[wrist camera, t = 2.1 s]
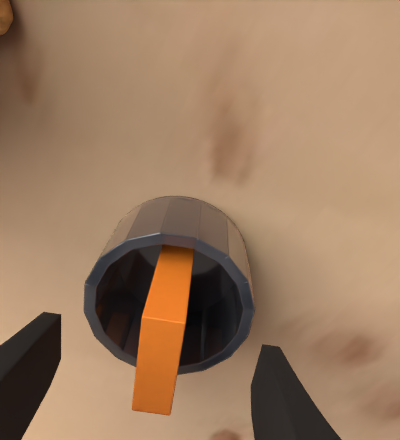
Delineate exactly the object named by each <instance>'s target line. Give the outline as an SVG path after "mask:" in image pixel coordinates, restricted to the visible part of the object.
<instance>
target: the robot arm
mask: <svg viewBox="0 0 400 440" xmlns="http://www.w3.org/2000/svg"><path fill="white" fill-rule="evenodd" d="M60 360H61V314H54V313H48V312H43V313H42V314H40V315H39V316H38V317H36V318H35V319H34V320H33V321H31V322H30V323H29V324H28V325H26V326H25V327H24V328H23V329H21V330H20V331H19V332H17V333H16V334H15V335H14V336H12V337H11V338H10V339H8V340H7V341H6V342H4V343H3V344H2V345H0V440H21V439H22V437H23V435H24V433H25V432H26V430H27V428H28V426H29V424H30V422H31V421H32V419H33V417H34V415H35V413H36V411H37V410H38V408H39V406H40V404H41V402H42V400H43V398H44V397H45V395H46V393H47V391H48V389H49V387H50V385H51V383H52V380H53V378H54V375H55V373H56V370H57V368H58V365H59V362H60ZM251 415H252V423H253V430H254V438H255V440H341V438H340V437H339V436H338V435H337V434H336V432H335V431H334V430H333V429H332V427H331V426H330V425H329V423H328V422H327V421H326V419H325V418H324V416H323V415H322V414H321V412H320V411H319V410H318V408H317V407H316V405H315V404H314V402H313V401H312V399H311V398H310V396H309V395H308V393H307V392H306V390H305V389H304V387H303V385H302V384H301V382H300V381H299V379H298V377H297V376H296V374H295V372H294V371H293V369H292V367H291V366H290V364H289V362H288V360H287V359H286V357H285V355H284V353H283V352H282V350H281V348H280V347H278V346H271V345H264V344H262V348H261V351H260V355H259V358H258V362H257V365H256V369H255V373H254V376H253V380H252V383H251Z"/></svg>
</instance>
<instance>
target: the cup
mask: <svg viewBox="0 0 400 440" xmlns="http://www.w3.org/2000/svg"><path fill="white" fill-rule="evenodd" d="M163 244H164V245H171V246H177V247H184V248H190V249H194V259H193V267H192V276H191V284H190V292H189V301H188V309H187V318H186V325H185V331H184V337H183V343H182V349H181V355H180V361H179V367H178V373H177V375H180V374H187V373H193V372H199V371H204V370H207V369H209V368H211V367H213V366H214V365H216V364H218V363H220V362H222V361H224V360H226V359H228V358H229V357H231V356H232V355H233V353H234V352H235V351H236V350H237V349H238V348H239V346H240V345H241V344H242V343H243V342H244V340H245V339H246V338H247V337H248V335H249V331H250V328H251V324H252V320H253V316H254V312H255V304H254V297H253V290H252V283H251V276H250V269H249V263H248V258H247V254H246V248H245V244H244V240H243V238H242V236H241V234H240V232H239V230H238V229H237V227H236V226H235V224H234V223H233V222H232V221H231V220H230V219H229V217H227V216H226V215H225V214H224V213H223V212H222V211H220V210H219V209H217V208H216V207H214V206H212V205H210V204H208V203H206V202H204V201H201V200H198V199H194V198H190V197H182V196H167V197H160V198H156V199H153V200H149V201H147V202H145V203H142V204H140V205H139V206H137V207H136V208H134V209H133V210H131V211H130V212H129V213H128V214H127V215H126V216H125V217H124V218H123V219H122V220H121V221H120V222H119V224H118V226H117V227H116V229H115V231H114V233H113V234H112V236H111V238H110V239H109V241H108V243H107V245H106V246H105V248H104V250H103V252H102V253H101V255H100V257H99V259H98V260H97V262H96V264H95V266H94V267H93V269H92V271H91V273H90V274H89V276H88V278H87V280H86V281H85V286H84V313H85V316H86V318H87V320H88V322H89V325H90V327H91V329H92V331H93V334H94V336H95V337H96V338H97V339H98V340H99V341H100V342H101V343H102V344H103V345H104V346H105V347H106V348H107V349H108V350H109V351H110V352H111V353H112V354H113V355H114V356H115V357H117V358H118V359H120V360H122V361H124V362H126V363H128V364H130V365H133V366H135V367H136V365H137V356H138V347H139V338H140V329H141V320H142V314H143V311H144V308H145V304H146V301H147V297H148V294H149V290H150V287H151V283H152V280H153V276H154V273H155V269H156V266H157V262H158V259H159V255H160V252H161V248H162V245H163Z"/></svg>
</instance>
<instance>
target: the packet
mask: <svg viewBox="0 0 400 440" xmlns="http://www.w3.org/2000/svg"><path fill="white" fill-rule="evenodd" d="M193 259H194V249H190V248H184V247H177V246H171V245H164V244H163V245H162V248H161V252H160V255H159V259H158V262H157V266H156V269H155V273H154V276H153V280H152V283H151V287H150V290H149V294H148V297H147V301H146V304H145V308H144V311H143V314H142V320H141V329H140V338H139V347H138V356H137V365H136V374H135V383H134V392H133V401H132V410H134V411H141V412H148V413H155V414H162V415H170V414H171V408H172V402H173V396H174V390H175V384H176V378H177V373H178V367H179V361H180V355H181V349H182V343H183V337H184V331H185V325H186V318H187V309H188V301H189V292H190V284H191V276H192V267H193Z"/></svg>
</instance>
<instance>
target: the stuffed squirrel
mask: <svg viewBox="0 0 400 440" xmlns="http://www.w3.org/2000/svg"><path fill="white" fill-rule="evenodd" d="M12 21H13V13H12V8H11V6H10V3H9V0H0V35H2V34H4V33H6V32H7V31H8V29H9V27H10V24H11V23H12Z"/></svg>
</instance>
